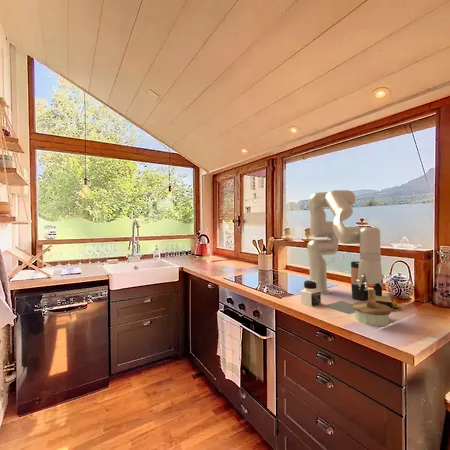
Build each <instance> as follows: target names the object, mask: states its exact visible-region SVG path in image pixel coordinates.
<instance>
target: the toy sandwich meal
mask: <svg viewBox="0 0 450 450" xmlns="http://www.w3.org/2000/svg"><path fill="white" fill-rule="evenodd" d="M375 299H376V303H379V304H383V305H386V306H388V307H390V308H391V312H399V311H400V310H401V307H400V305H398V302H397V300H396V299H394V300H393V301H392V297H391V296H388V295H383V294H382V296H376V295H375Z"/></svg>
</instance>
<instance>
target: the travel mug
mask: <svg viewBox="0 0 450 450" xmlns="http://www.w3.org/2000/svg"><path fill="white" fill-rule="evenodd" d="M358 267H359V261H351V262H350V277H351V278H350V279H351V280H350V281H351V287H350V288H351V297H352V298H351V299H352V300H354V301H357V302H367V300H363V299H360V289H359V287H358V284H357V279H358ZM364 287H365V285H364Z"/></svg>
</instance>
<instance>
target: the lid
mask: <svg viewBox="0 0 450 450" xmlns="http://www.w3.org/2000/svg"><path fill="white" fill-rule="evenodd" d="M367 290H368V300H366V301H355V302H354V303H352V304H353V309H355V310H356V311H359V312H362V313H366V314H371V315H388V314H389V315H390V314H391V313H392V311H391V309H392V307H391V308H390V307H388V306H386V305H383V304H379V303H376V299H375V290H374V288H373V289H372V288H368V289H367Z"/></svg>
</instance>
